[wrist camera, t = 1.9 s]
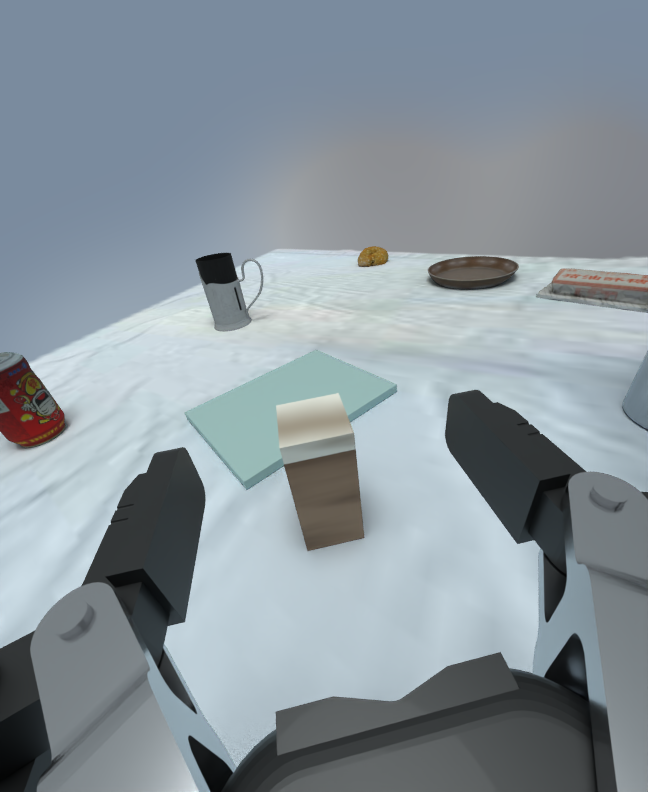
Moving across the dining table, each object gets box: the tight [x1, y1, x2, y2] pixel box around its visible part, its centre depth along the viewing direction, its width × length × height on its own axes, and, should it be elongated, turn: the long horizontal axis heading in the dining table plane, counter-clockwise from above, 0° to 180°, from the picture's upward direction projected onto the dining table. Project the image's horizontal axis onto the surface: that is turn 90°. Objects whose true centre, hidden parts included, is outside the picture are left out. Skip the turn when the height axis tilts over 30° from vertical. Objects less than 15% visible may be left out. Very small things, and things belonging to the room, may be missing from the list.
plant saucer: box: [428, 256, 519, 289], centre depth 82 cm, size 21×21×3 cm
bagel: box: [358, 246, 388, 267], centre depth 109 cm, size 10×11×5 cm
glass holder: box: [196, 253, 263, 331], centre depth 73 cm, size 9×14×15 cm, turn 85°
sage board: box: [185, 350, 397, 489], centre depth 46 cm, size 24×18×1 cm
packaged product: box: [536, 269, 648, 313], centre depth 63 cm, size 18×5×10 cm
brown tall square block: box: [276, 393, 364, 551], centre depth 27 cm, size 5×5×12 cm
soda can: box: [0, 352, 66, 448], centre depth 45 cm, size 7×7×12 cm
